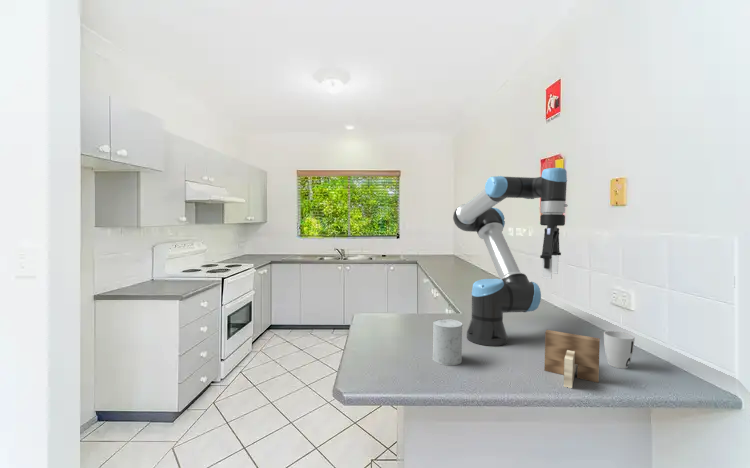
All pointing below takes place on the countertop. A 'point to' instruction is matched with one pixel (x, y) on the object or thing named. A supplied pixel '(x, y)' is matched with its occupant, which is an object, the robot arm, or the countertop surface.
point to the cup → (618, 348)
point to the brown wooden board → (584, 354)
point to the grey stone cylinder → (447, 341)
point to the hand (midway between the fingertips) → (550, 275)
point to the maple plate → (569, 368)
